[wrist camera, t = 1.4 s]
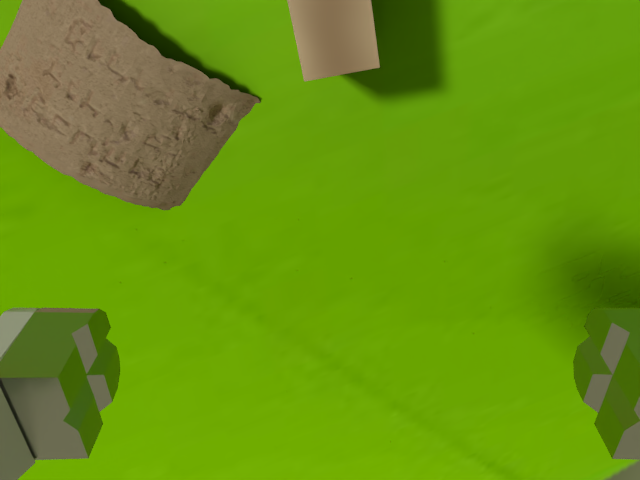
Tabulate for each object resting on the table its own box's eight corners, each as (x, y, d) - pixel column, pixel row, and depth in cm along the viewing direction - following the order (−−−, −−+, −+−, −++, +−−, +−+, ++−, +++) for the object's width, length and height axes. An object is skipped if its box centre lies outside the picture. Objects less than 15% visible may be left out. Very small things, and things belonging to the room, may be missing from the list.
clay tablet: (272, 98, 31) (266, 114, 29) (189, 219, 36) (179, 242, 34) (27, -70, 27) (-2, -66, 25) (-30, 92, 32) (-59, 108, 30)
